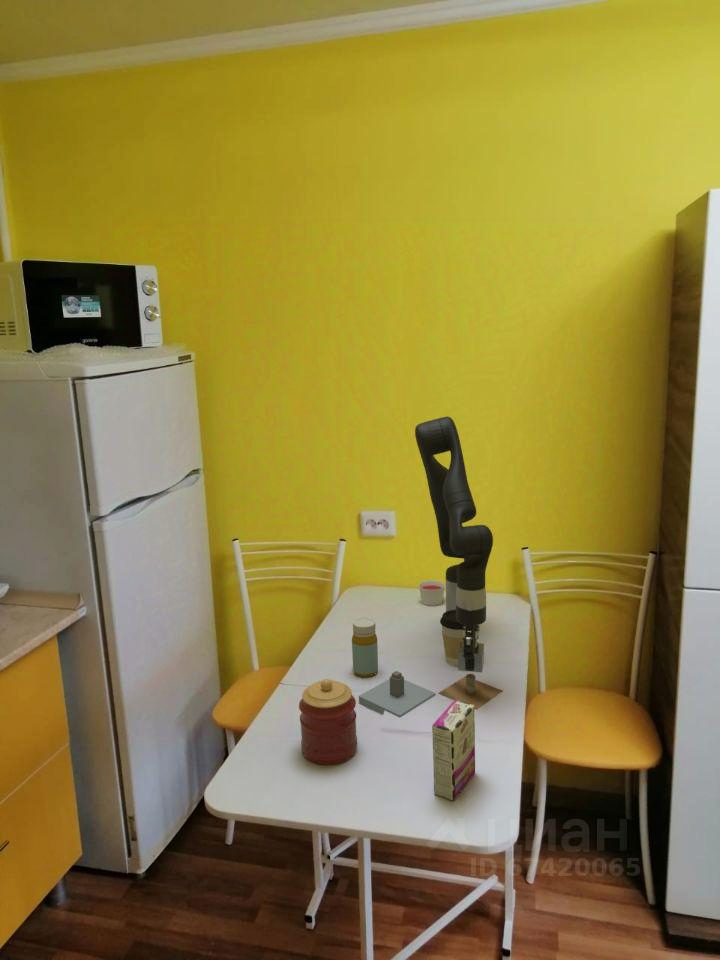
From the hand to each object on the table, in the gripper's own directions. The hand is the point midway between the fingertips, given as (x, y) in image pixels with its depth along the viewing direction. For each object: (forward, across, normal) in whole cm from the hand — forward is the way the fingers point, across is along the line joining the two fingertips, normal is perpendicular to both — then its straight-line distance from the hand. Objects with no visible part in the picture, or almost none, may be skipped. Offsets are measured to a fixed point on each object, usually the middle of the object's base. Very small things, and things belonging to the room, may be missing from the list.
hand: (471, 663), depth 185 cm
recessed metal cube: (+1, 0, 0) cm, 1 cm away
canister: (+10, +29, -30) cm, 43 cm away
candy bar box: (+10, +36, 0) cm, 37 cm away
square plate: (+9, +6, -18) cm, 21 cm away
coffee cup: (+10, -17, -5) cm, 20 cm away
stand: (+9, 0, 0) cm, 9 cm away
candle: (+10, -61, -19) cm, 64 cm away
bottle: (+10, -8, -30) cm, 33 cm away
